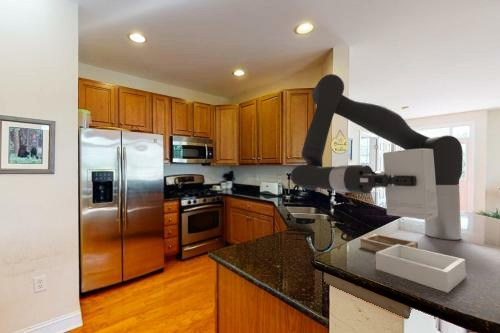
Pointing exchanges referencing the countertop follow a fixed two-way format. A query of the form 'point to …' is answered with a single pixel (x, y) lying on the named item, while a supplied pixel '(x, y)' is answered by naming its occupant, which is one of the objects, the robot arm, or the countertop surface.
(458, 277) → the tray
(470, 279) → the countertop surface
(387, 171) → the skincare box
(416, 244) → the holder
